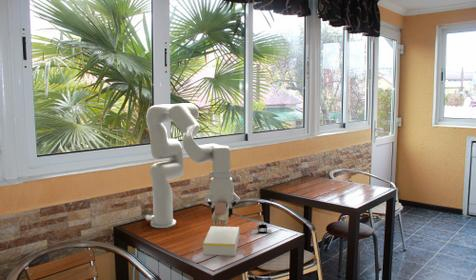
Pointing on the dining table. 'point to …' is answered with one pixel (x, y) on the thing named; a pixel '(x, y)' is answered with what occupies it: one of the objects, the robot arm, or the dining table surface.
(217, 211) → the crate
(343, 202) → the dining table surface
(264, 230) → the black piece
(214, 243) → the dock
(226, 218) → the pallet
